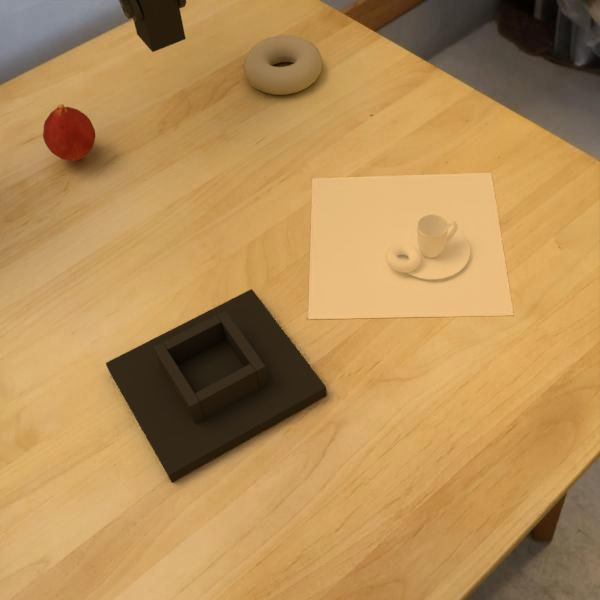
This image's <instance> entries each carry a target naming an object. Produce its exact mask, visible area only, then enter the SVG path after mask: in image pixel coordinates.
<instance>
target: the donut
mask: <svg viewBox="0 0 600 600" xmlns="http://www.w3.org/2000/svg"><path fill="white" fill-rule="evenodd" d="M280 63H291V64H289V65H285V66H274V65H277V64H280ZM322 68H323V57H322V55H321V52H320V50H319V48H318V47H317V46H316V45H315V44H314V43H313V42H311V41H310V40H308V39H306V38H304V37H301V36H297V35H292V34H279V35H278V34H277V35H274V36H273V35H272V36H270V37H267V38H264V39H261V40H260V41H258V42H257V43H256V44H254V45H253V46H252V47H250V49H249V51H248V52H247V53H246V55H245V57H244V60H243V70H244V74H245V78H246V80H247V81H248V82H249V83H250V84H251V86H253V87H254V88H255V89H257V90H259V91H260V92H263V93H265V94H266V93H267V94H269V95H274V96H275V95H276V96H277V95H279V96H280V95H281V96H283V95H285V96H286V95H291V94H297V93H299V92H301V91H304V90H306V89H307V88H308V87H310V86H311V85H313V83H315V82H316V81H317V79H318V77H319V76H320V75H321V73H322Z"/></svg>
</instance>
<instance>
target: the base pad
mask: <svg viewBox="0 0 600 600" xmlns="http://www.w3.org/2000/svg"><path fill="white" fill-rule="evenodd" d="M105 365H106V368H107V370H108V372H109V374H110V376H111V377H112V379H113V381H114V383H115V384H116V386H117V388H118V390H119V391H120V393H121V395H122V397H123V399H124V400H125V402H126V404H127V406H128V408H129V409H130V411H131V413H132V415H133V416H134V418H135V420H136V421H137V423H138V425H139V427H140V429H141V431H142V432H143V434H144V437H146V439H147V441H148V443H149V445H150V447H151V448H152V450H153V452H154V454H155V456H156V458H157V459H158V461H159V462H160V464H161V466H162V468H163V470H164V472H165V473H166V475H167V476H168V479H169V480H170V482H171V483H174V482H177V481H178V480H179V479H181V478H183V477H185V476H187V475H188V474H190V473H192V472H194V471H196V470H198V469H199V468H201V467H203V466H204V465H206V464H208V463H210V462H212V461H213V460H215V459H217V458H219V457H221V456H222V455H224V454H226V453H228V452H230V451H231V450H233V449H235V448H237V447H238V446H240V445H242V444H244V443H246V442H248V441H249V440H251V439H252V438H255V437H256V436H258V435H260V434H261V433H264V432H265V431H267V430H268V429H270V428H272V427H274V426H276V425H278V424H279V423H281V422H283V421H284V420H286V419H288V418H290V417H292V416H293V415H295V414H297V413H299V412H301V411H303V410H305V409H306V408H308V407H309V406H311V405H314V404H315V403H317V402H318V401H320V400H322V399H324V398H326V397H327V396H328V393H327V386H326V384H324V382H323V380H322V379H320V377H319V376H318V374H317V373H316V372H315V370H314V368H312V366H311V365H310V364H309V362H308V361H307V359H306V358H305V357H304V356H303V354H302V353H301V352H300V350H299V349H298V348H297V347H296V345H295V344H294V343H293V341H292V340H291V339H290V337H289V336H288V334H287V333H286V332H285V331H284V329H283V328H282V326H280V324H279V323H278V321H277V320H276V319H275V317H274V316H273V315H272V313H271V312H270V311H269V310H268V308H267V306H266V305H265V304H264V303H263V301H262V299H260V298H259V296H258V295H257V294H256V293H255V291H254V290H253V289H249V290H247V291H245V292H243V293H241V294H239V295H237V296H234V297H233V298H231V299H228V300H227V301H225V302H223V303H221V304H219V305H217V306H215V307H213V308H211V309H209V310H208V311H207V310H206V311H205V312H203V313H202V314H200V315H198V316H196V317H194V318H191V319H189V320H187V321H186V322H184V323H182V324H179V325H178V326H176V327H174V328H172V329H170V330H167V331H166V332H165V333H162V334H159V335H158V336H156V337H154V338H152V339H150V340H148V341H146V342H144V343H142V344H140V345H138V346H136V347H134V348H132V349H131V350H129V351H126V352H124V353H122V354H120V355H118V356H116V357H115V358H112V359H110V360H108V361H106V362H105Z"/></svg>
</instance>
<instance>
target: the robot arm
mask: <svg viewBox="0 0 600 600" xmlns="http://www.w3.org/2000/svg"><path fill="white" fill-rule="evenodd" d="M118 2H119V5H120V7H121V9H122V11H123V14H124V16H125V17H126V18H127V19H128V20H130V19H132V20H133V23H134V22H135V23H137V22H140V21H142V18H143V17H142V13H141V10H140V8H139V5H138V3H137V0H118ZM178 4H179V8H180V9H183V8H185V7H186V5H187V0H178Z"/></svg>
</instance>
